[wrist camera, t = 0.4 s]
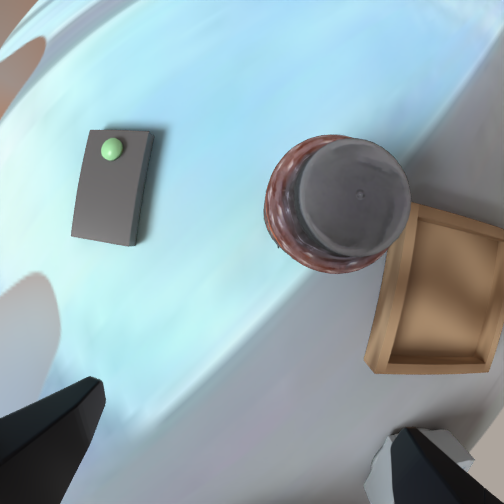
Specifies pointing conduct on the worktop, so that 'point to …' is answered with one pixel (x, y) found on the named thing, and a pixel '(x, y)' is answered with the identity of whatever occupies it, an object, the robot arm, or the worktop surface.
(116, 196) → the pad
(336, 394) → the worktop surface
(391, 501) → the grey open square bin
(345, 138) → the supplement bottle
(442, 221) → the tray
